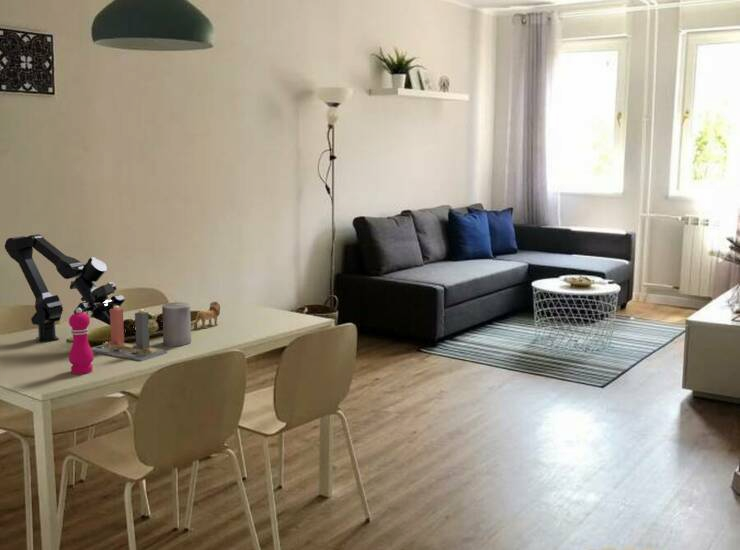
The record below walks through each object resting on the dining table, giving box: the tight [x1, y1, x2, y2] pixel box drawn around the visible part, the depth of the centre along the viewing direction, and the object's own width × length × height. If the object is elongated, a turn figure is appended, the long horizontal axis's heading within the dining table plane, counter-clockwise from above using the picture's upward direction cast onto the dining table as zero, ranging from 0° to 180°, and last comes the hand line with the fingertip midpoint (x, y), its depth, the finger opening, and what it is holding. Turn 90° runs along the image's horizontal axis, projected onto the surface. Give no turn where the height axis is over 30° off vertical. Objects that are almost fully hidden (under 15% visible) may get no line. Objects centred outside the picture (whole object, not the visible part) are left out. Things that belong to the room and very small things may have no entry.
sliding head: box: [107, 306, 125, 349], centre depth 273 cm, size 3×5×14 cm, turn 151°
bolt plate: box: [91, 341, 168, 362], centre depth 272 cm, size 24×12×2 cm, turn 61°
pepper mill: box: [68, 307, 95, 375], centre depth 247 cm, size 7×7×20 cm
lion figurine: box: [193, 300, 221, 330], centre depth 311 cm, size 15×5×9 cm, turn 156°
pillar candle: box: [161, 301, 192, 347], centre depth 285 cm, size 10×10×15 cm
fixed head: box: [133, 309, 150, 353], centre depth 268 cm, size 3×5×14 cm, turn 151°
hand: (113, 325), depth 275 cm, fingers closed, pressing on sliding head
